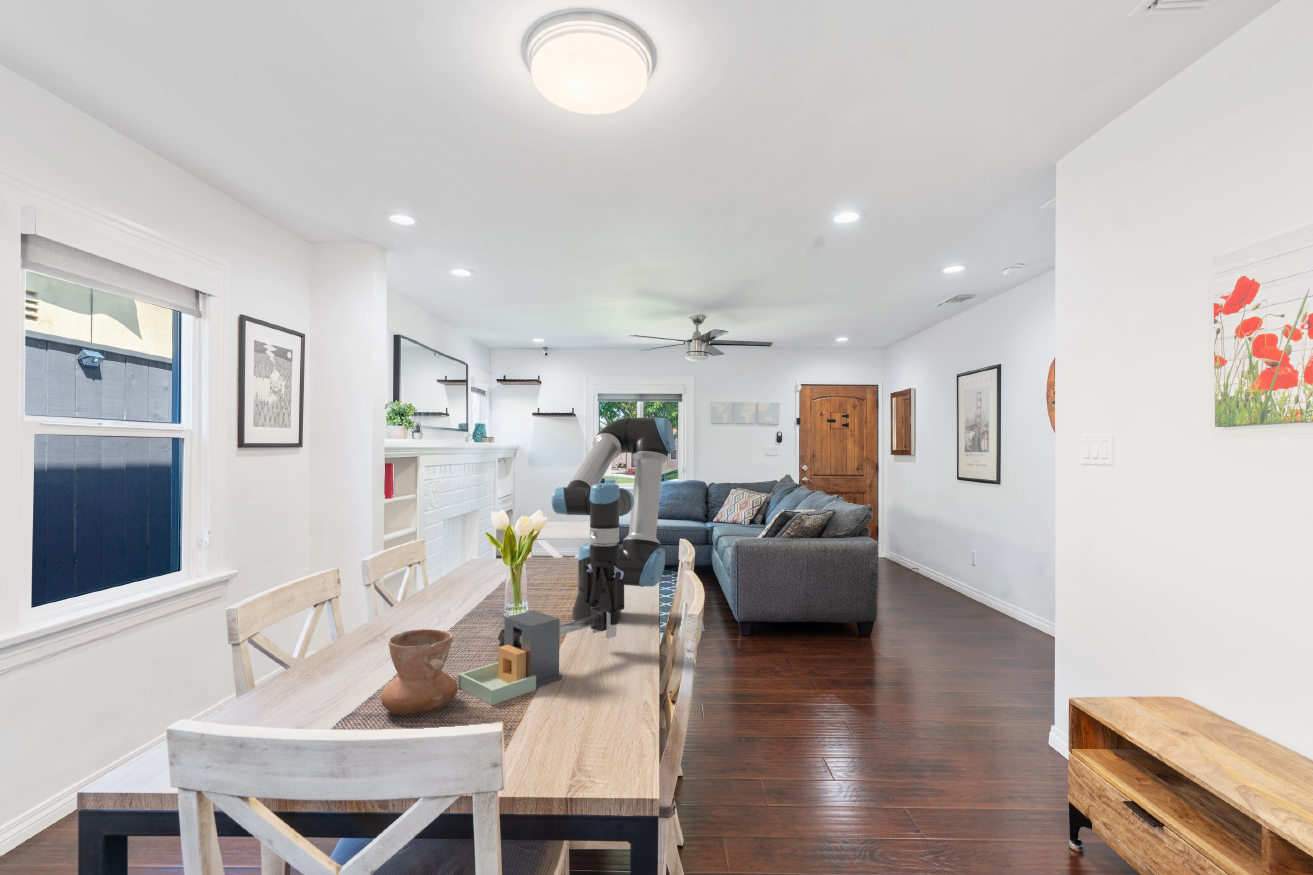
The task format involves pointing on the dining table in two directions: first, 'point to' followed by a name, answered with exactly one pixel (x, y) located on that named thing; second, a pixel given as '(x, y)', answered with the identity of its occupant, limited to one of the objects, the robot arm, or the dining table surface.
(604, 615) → the shaft
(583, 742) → the dining table surface
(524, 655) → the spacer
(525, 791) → the dining table surface
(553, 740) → the dining table surface
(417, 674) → the ceramic jug
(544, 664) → the bearing block
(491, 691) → the tray
